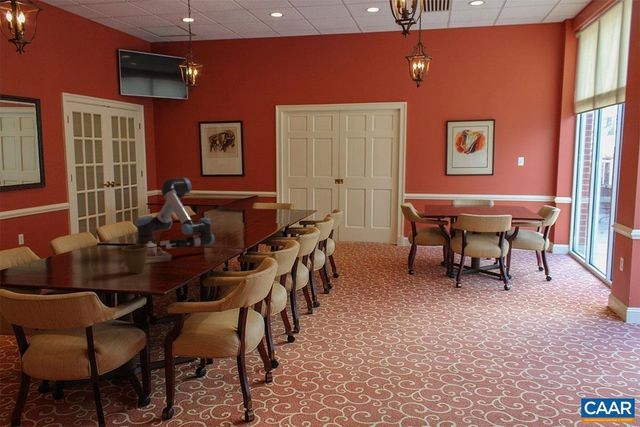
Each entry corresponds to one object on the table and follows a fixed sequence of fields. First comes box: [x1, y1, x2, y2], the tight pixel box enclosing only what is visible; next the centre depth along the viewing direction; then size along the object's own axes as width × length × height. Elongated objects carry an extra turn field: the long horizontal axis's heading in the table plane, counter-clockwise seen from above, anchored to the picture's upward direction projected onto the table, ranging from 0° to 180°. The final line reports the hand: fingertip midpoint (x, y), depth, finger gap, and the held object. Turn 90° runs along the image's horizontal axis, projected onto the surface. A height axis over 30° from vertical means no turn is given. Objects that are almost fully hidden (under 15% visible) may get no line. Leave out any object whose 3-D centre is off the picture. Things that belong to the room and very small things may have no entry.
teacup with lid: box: [146, 241, 163, 257], centre depth 336 cm, size 12×9×12 cm
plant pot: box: [121, 244, 148, 274], centre depth 305 cm, size 15×15×16 cm
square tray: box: [145, 250, 173, 265], centre depth 337 cm, size 17×20×4 cm
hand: (163, 245), depth 340 cm, fingers open, 13 cm apart
